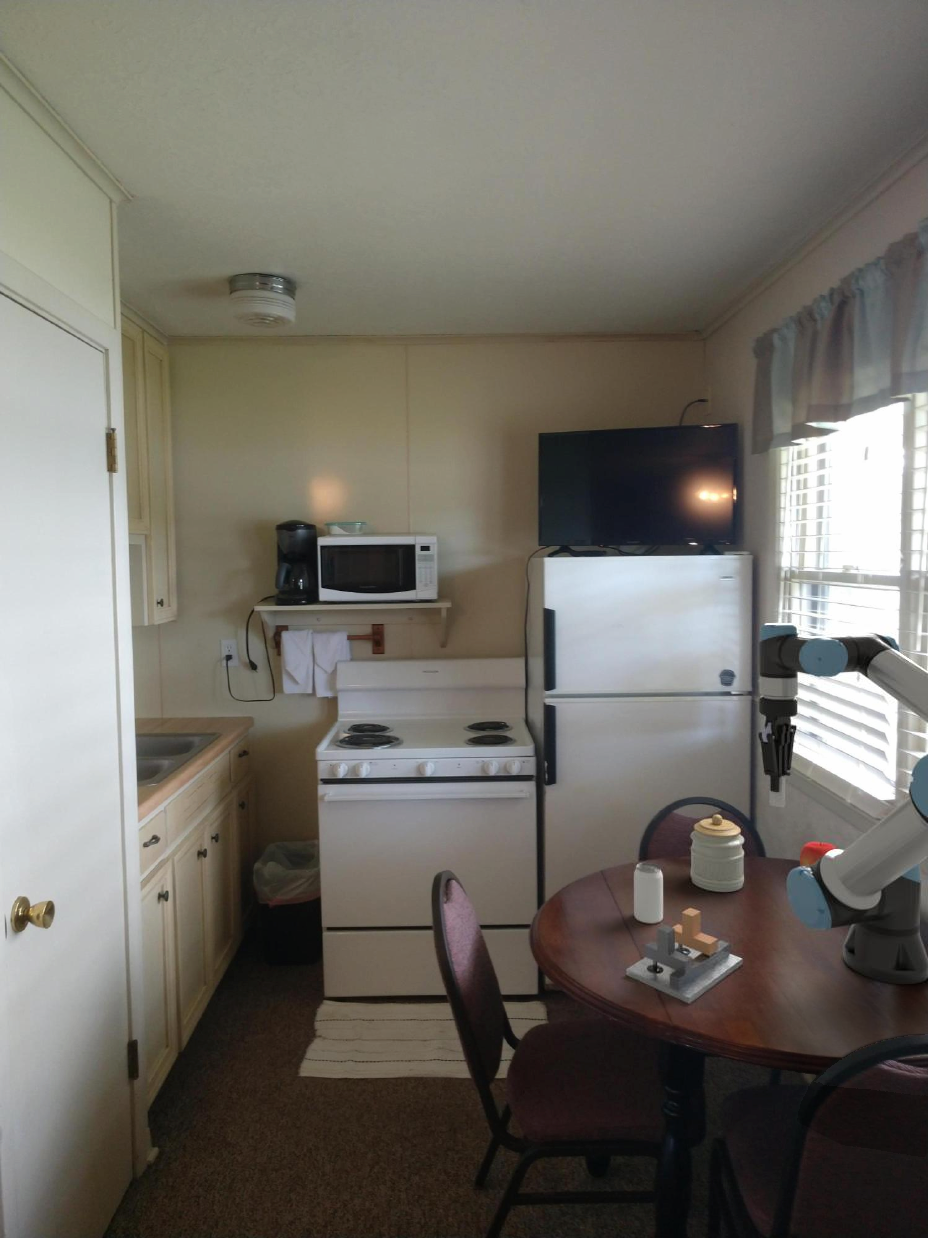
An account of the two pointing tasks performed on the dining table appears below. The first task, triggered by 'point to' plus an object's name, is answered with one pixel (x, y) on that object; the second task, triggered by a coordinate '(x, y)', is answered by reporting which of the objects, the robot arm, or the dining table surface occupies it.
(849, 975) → the dining table surface
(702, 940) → the orange t-shaped block
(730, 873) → the jar
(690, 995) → the grey assembly fixture
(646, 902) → the can
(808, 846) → the apple
